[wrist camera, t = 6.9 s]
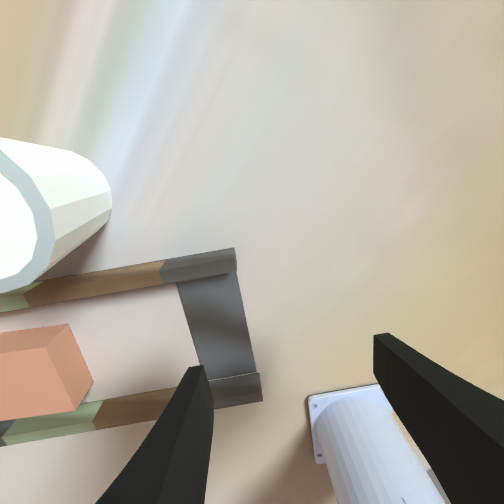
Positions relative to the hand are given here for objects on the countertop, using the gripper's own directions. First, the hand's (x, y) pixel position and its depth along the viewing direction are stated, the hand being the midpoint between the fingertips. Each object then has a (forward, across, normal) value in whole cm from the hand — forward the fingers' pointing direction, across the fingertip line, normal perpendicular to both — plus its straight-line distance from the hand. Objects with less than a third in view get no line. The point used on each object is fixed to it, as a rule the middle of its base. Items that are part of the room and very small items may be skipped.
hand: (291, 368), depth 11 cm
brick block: (+10, +20, +4) cm, 22 cm away
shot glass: (+10, +12, -8) cm, 17 cm away
